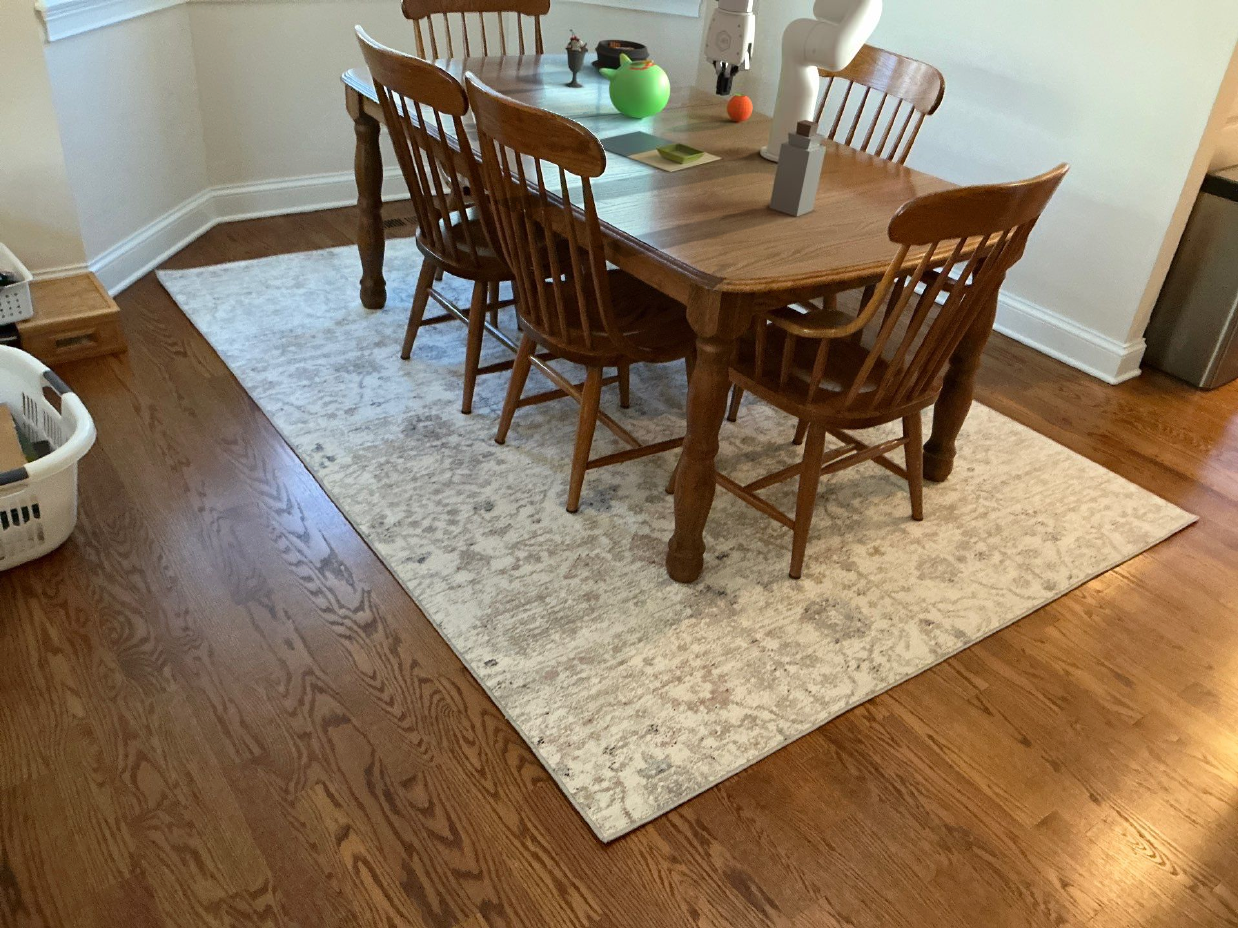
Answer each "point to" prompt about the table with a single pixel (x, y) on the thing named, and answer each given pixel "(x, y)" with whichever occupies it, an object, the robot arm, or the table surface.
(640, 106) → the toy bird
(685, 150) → the green square dish
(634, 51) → the casserole
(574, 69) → the sundae
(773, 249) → the table surface
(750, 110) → the clementine
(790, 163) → the perfume bottle
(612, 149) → the placemat
